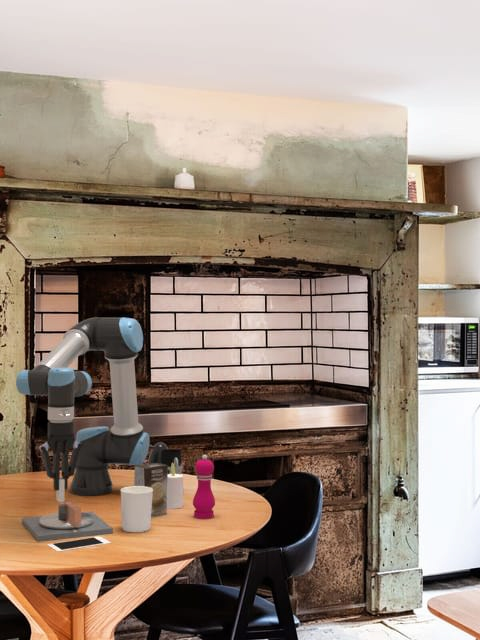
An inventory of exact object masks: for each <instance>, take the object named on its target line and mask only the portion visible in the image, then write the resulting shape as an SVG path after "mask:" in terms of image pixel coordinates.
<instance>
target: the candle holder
mask: <svg viewBox="0 0 480 640" xmlns="http://www.w3.org/2000/svg"><path fill="white" fill-rule="evenodd" d="M119 491H120V503H121V508H120V509H121V526H122V527H121V529H122V530H123V531H124V532H127V533H144V531H145V532H148V531H149V530H150V529H151V519H152V517H151V510H152V496H153V489H152V488H150V487H145V486H134V485H132V486H125V487H122V488H120V490H119Z"/></svg>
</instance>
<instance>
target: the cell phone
mask: <svg viewBox="0 0 480 640" xmlns="http://www.w3.org/2000/svg"><path fill="white" fill-rule="evenodd" d="M110 544H112V543H111V541H109V540H108V539H106V538H104V537H102V536H99V535H96V536H93V537H92V536H90V537H85V538H80V539H73V540H66V541H65V540H64V541H60V542H53V543H48V544H47V546H48V547H49V548H50V549H52V550H54V551H55V552H57V553H59V552H66V551H72V550H77V549H85V548H90V547H98V546H102V545H110Z"/></svg>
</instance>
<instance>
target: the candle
mask: <svg viewBox="0 0 480 640" xmlns="http://www.w3.org/2000/svg"><path fill="white" fill-rule="evenodd" d="M183 507H184V475H183V474H175V468H174V464H173V463H172V464H171V474H168V478H167V510H168V509H169V510H170V509H171V510H178V508H179V509H182V508H183Z"/></svg>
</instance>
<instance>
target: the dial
mask: <svg viewBox="0 0 480 640" xmlns="http://www.w3.org/2000/svg"><path fill="white" fill-rule="evenodd" d="M57 509H58V510H57V511H58V512H54V513H48V514H44V515H41V516H42V517H41V518H40V520H39V524H40V525H41V526H42V527H45V528H50V529H77V528H82V527H86V526H89V525H91V524H93V522H94V517H93V516H92V515H90V514H87V513H81V512H82V507H80V506H78V505H76V504H75V503H73V502H71V501H64V502H63V503H60V504H58V507H57Z"/></svg>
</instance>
